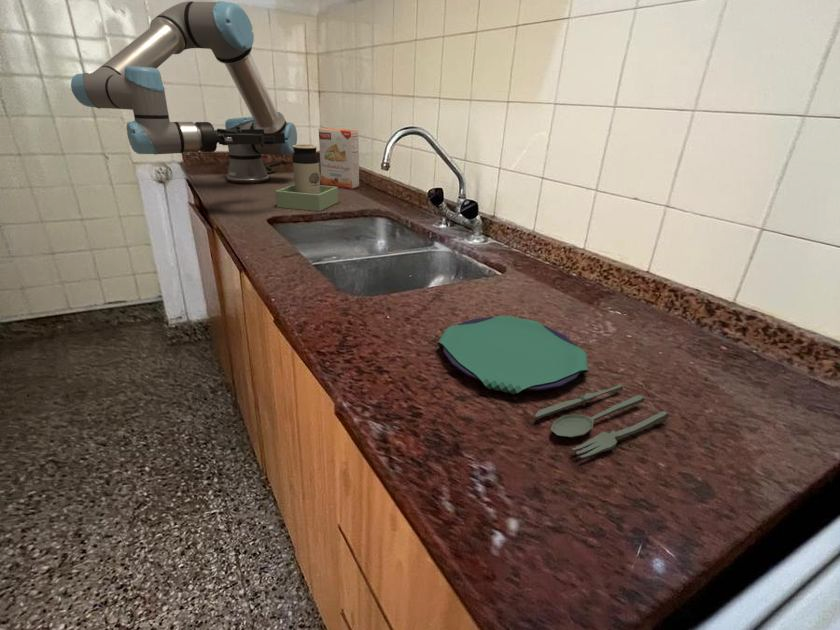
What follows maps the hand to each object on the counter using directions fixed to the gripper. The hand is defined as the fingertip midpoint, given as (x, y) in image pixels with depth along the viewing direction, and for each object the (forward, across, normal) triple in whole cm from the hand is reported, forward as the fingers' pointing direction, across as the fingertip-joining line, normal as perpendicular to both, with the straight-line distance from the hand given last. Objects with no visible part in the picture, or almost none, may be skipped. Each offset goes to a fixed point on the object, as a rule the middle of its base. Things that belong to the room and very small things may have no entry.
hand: (273, 136), depth 131 cm
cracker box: (+35, -21, -21) cm, 46 cm away
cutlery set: (-14, +106, -22) cm, 110 cm away
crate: (+10, 0, -21) cm, 23 cm away
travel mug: (+10, 0, -21) cm, 23 cm away
